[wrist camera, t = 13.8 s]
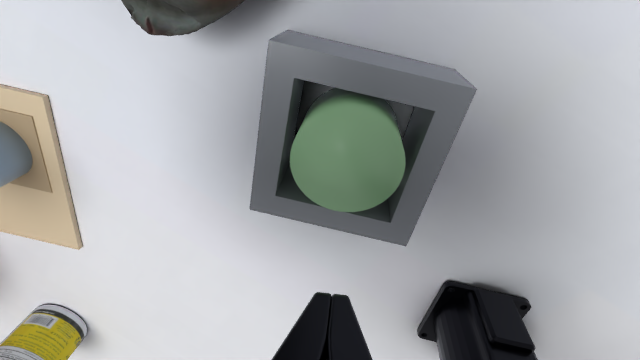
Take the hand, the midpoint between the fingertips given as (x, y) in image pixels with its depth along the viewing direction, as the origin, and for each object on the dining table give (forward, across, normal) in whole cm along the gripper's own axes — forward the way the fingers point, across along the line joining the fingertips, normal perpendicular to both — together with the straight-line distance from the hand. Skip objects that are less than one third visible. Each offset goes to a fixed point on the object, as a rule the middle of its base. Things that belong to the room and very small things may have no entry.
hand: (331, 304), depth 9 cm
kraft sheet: (+13, +25, +5) cm, 29 cm away
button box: (+13, 0, 0) cm, 13 cm away
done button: (+12, 0, 0) cm, 12 cm away
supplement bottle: (+13, +27, +23) cm, 38 cm away
